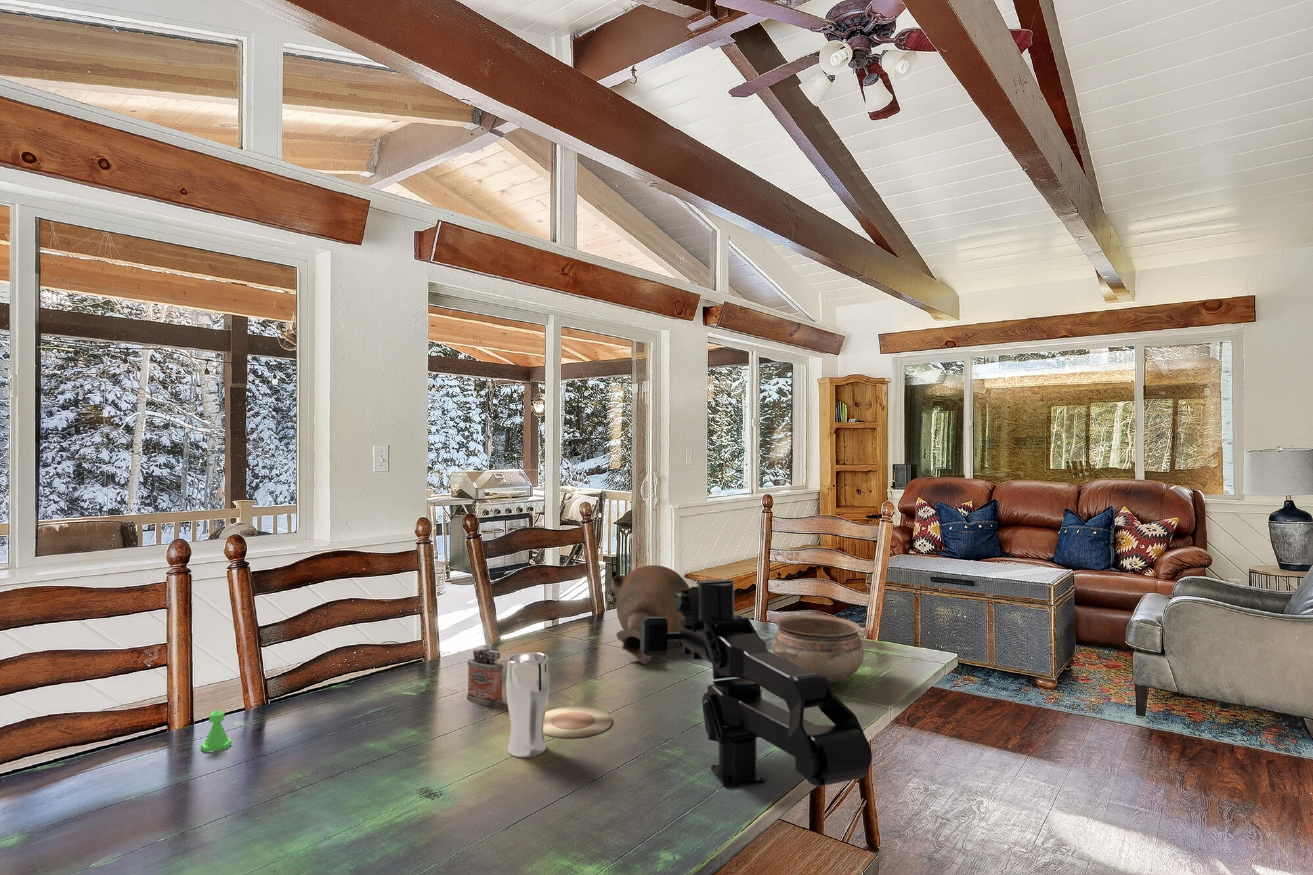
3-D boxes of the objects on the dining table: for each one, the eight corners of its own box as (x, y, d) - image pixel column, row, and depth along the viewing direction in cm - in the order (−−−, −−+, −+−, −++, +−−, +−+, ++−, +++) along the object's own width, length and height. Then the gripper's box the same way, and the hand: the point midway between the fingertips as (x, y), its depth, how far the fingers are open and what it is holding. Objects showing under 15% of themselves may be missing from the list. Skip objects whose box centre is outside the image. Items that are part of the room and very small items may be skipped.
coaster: (619, 733, 126) (619, 731, 126) (537, 741, 122) (537, 739, 122) (603, 705, 139) (603, 703, 139) (530, 711, 136) (530, 709, 136)
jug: (639, 630, 197) (599, 682, 169) (622, 561, 195) (578, 602, 167) (711, 621, 191) (681, 674, 162) (693, 549, 189) (661, 591, 161)
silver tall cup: (539, 760, 115) (540, 665, 115) (498, 756, 116) (499, 662, 116) (554, 743, 121) (555, 653, 122) (515, 739, 123) (516, 650, 123)
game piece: (199, 754, 116) (199, 716, 116) (202, 744, 120) (203, 707, 120) (230, 749, 118) (230, 712, 118) (232, 740, 122) (233, 704, 122)
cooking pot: (820, 661, 170) (820, 608, 170) (890, 682, 155) (890, 624, 155) (743, 681, 154) (744, 624, 155) (813, 707, 140) (814, 643, 140)
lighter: (462, 699, 142) (463, 648, 142) (474, 694, 145) (475, 644, 145) (495, 707, 138) (495, 654, 138) (506, 701, 141) (507, 649, 141)
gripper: (761, 591, 123) (722, 582, 138) (658, 593, 117) (629, 582, 132) (760, 659, 122) (721, 642, 137) (656, 664, 116) (627, 645, 131)
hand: (676, 626), depth 134 cm, fingers open, 9 cm apart
